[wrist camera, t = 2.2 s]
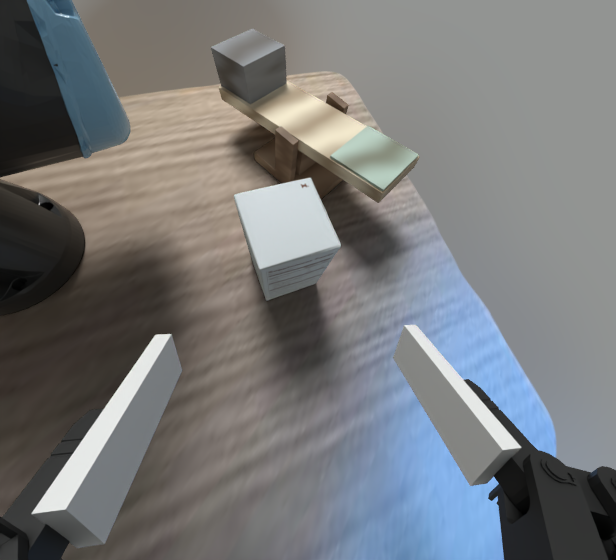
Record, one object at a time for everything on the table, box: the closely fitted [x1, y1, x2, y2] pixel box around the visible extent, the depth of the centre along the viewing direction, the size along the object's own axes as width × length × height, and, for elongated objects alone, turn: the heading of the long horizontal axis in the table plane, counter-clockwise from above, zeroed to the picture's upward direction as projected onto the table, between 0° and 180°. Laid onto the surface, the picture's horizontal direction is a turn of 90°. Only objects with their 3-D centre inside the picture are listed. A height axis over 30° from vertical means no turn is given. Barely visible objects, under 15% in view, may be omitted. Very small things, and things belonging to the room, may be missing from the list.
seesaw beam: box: [211, 29, 419, 203], centre depth 28 cm, size 28×8×6 cm, turn 48°
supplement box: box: [234, 178, 341, 301], centre depth 24 cm, size 7×7×13 cm
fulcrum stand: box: [254, 92, 348, 199], centre depth 32 cm, size 12×11×8 cm
